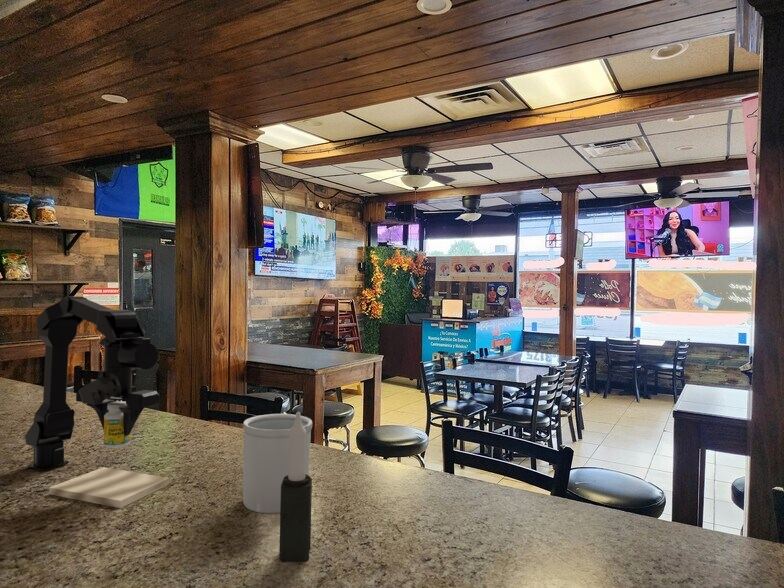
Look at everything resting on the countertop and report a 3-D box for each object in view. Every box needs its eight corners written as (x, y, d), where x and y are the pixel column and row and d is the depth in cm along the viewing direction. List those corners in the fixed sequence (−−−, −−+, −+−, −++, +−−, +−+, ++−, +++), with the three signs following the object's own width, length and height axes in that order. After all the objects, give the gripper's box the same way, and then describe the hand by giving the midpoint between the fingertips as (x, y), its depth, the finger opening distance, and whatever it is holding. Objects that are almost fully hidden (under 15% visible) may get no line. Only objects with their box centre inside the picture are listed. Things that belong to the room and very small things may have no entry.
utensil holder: (286, 482, 121) (288, 409, 121) (323, 501, 111) (325, 422, 111) (229, 499, 111) (230, 419, 111) (264, 522, 100) (266, 434, 100)
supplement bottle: (128, 440, 119) (129, 399, 119) (131, 446, 114) (132, 404, 114) (102, 443, 116) (103, 401, 116) (104, 450, 111) (105, 406, 111)
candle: (282, 547, 91) (285, 408, 91) (310, 546, 91) (314, 408, 91) (278, 562, 85) (281, 415, 85) (308, 561, 86) (311, 415, 86)
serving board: (49, 494, 111) (49, 487, 111) (103, 473, 125) (103, 467, 125) (120, 508, 105) (120, 500, 105) (169, 484, 118) (169, 477, 118)
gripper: (54, 367, 110) (52, 439, 110) (122, 373, 105) (120, 448, 105) (97, 361, 121) (96, 426, 121) (161, 366, 115) (160, 434, 115)
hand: (116, 434), depth 115 cm, fingers closed on supplement bottle, 5 cm apart
